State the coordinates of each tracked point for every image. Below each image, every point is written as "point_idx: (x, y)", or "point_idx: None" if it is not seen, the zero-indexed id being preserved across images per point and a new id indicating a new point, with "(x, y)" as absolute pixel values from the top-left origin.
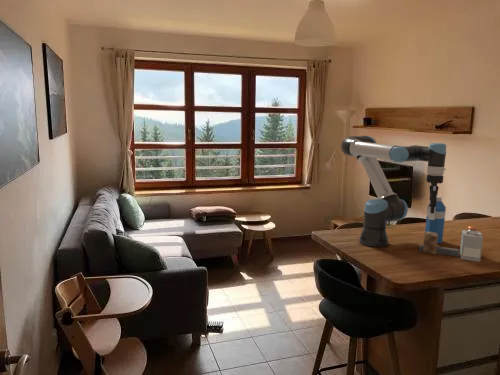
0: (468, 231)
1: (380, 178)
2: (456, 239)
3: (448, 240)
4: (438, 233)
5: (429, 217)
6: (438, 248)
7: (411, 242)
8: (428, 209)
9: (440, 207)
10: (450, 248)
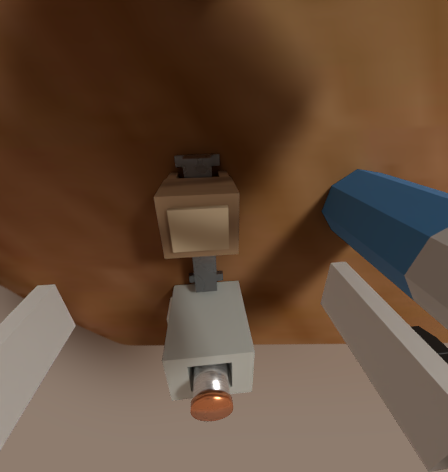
0: (203, 379)
1: None
2: None
3: None
4: (349, 237)
5: (24, 309)
6: None
7: (312, 111)
8: (355, 292)
9: None
10: (210, 270)
